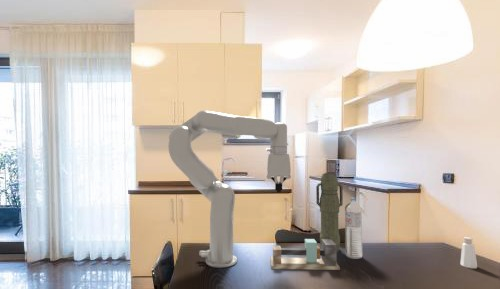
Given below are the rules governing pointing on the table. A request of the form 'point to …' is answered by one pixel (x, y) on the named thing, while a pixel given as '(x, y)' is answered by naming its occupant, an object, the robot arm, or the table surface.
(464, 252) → the salt shaker
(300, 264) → the beige slide rail fixture
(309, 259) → the mint green boxy block
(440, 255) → the table surface
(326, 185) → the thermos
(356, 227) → the water bottle
